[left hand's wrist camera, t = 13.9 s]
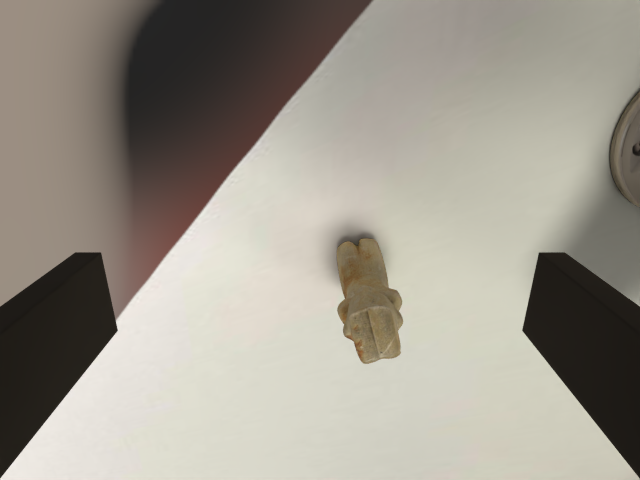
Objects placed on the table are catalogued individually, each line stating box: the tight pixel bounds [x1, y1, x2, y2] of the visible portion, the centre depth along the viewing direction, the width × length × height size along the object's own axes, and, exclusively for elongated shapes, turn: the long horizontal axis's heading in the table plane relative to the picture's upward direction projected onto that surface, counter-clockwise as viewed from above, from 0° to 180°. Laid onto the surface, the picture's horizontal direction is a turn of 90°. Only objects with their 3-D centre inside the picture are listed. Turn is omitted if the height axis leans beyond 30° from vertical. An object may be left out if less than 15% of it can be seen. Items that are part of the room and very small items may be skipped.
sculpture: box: [337, 239, 403, 364], centre depth 39 cm, size 6×7×15 cm
